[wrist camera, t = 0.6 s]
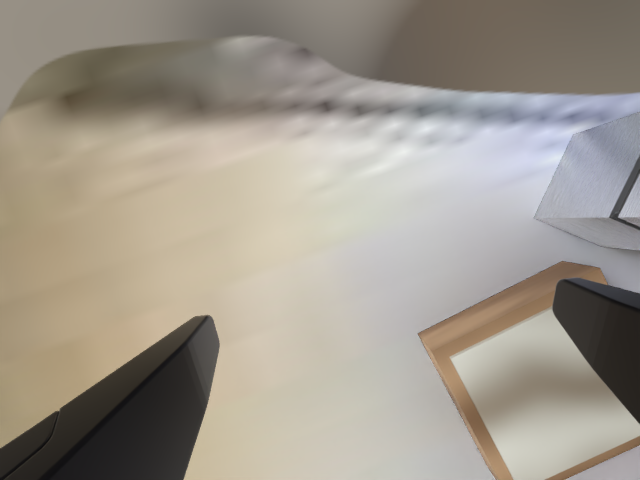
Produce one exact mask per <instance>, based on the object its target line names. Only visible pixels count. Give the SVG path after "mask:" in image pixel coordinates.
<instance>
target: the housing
mask: <svg viewBox="0 0 640 480" xmlns="http://www.w3.org/2000/svg"><path fill="white" fill-rule="evenodd" d="M534 218H535V219H537V220H540V221H542V222H544V223H547V224H549V225H551V226H554V227H556V228H559V229H561V230H563V231H566V232H568V233H570V234H573V235H575V236H577V237H580V238H582V239H585V240H587V241H589V242H592V243H594V244H596V245H599V246H601V247H610V248H620V249H630V250H640V112H638V113H635V114H632V115H629V116H626V117H623V118H620V119H618V120H615V121H612V122H609V123H606V124H603V125H600V126H597V127H594V128H592V129H589V130H586V131H583V132H580V133H577V134H574V135H573V136H572V138H571V140H570V142H569V144H568V146H567V149H566V151H565V153H564V155H563V157H562V159H561V161H560V163H559V165H558V167H557V170H556V172H555V174H554V176H553V178H552V180H551V182H550V184H549V186H548V189H547V191H546V193H545V195H544V197H543V199H542V201H541V203H540V205H539V208H538V210H537V212H536V214H535V216H534Z"/></svg>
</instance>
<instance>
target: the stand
mask: <svg viewBox="0 0 640 480" xmlns="http://www.w3.org/2000/svg"><path fill="white" fill-rule="evenodd" d="M574 277H578V278H583V279H586V280H590V281H594V282H598V283H601V284H605V285H608V284H607V282H606V280H605V278H604V275H603V273H602V271H601V269H600V268H598V267H592V266H587V265H581V264H576V263H570V262H565V261H561V262H559V263H557V264H555V265H553V266H551V267H550V268H548V269H546V270H544V271H542V272H540V273H538V274H536V275H534V276H532V277H530V278H528V279H526V280H524V281H522V282H520V283H518V284H516V285H514V286H512V287H510V288H508V289H506V290H504V291H502V292H500V293H498V294H496V295H494V296H492V297H490V298H488V299H486V300H484V301H482V302H480V303H478V304H476V305H474V306H472V307H470V308H468V309H466V310H464V311H462V312H460V313H458V314H456V315H454V316H452V317H450V318H448V319H446V320H444V321H442V322H440V323H438V324H436V325H434V326H432V327H430V328H428V329H426V330H424V331H422V332H420V333H418V335H419V337H420V339H421V341H422V343H423V345H424V347H425V349H426V350H427V352H428V354H429V356H430V358H431V360H432V362H433V364H434V366H435V368H436V369H437V371H438V373H439V375H440V377H441V379H442V381H443V383H444V385H445V387H446V388H447V390H448V392H449V394H450V396H451V398H452V400H453V402H454V404H455V406H456V407H457V409H458V411H459V413H460V415H461V417H462V419H463V421H464V423H465V425H466V426H467V428H468V430H469V432H470V434H471V436H472V438H473V440H474V442H475V444H476V445H477V447H478V449H479V451H480V453H481V455H482V457H483V459H484V461H485V463H486V464H487V466H488V468H489V469H490V471H491V473H492V474H493V476H494V477H495V479H496V480H565V479H567V478H569V477H571V476H573V475H576V474H578V473H580V472H582V471H584V470H586V469H589V468H591V467H593V466H595V465H597V464H599V463H602V462H604V461H606V460H608V459H610V458H613V457H615V456H617V455H619V454H621V453H623V452H626V451H628V450H630V449H632V448H634V447H637V446H639V445H640V424H639V423H638V422H637V421H636V420H635V418H634V417H633V416H632V415H631V414H630V413H629V411H628V410H627V409H626V408H625V407H624V406H623V404H622V403H621V402H620V401H619V400H618V399H617V397H616V396H615V395H614V394H613V393H612V392H611V390H610V389H609V388H608V387H607V386H606V385H605V383H604V382H603V381H602V380H601V379H600V377H599V376H598V375H597V374H596V373H595V371H594V370H593V369H592V368H591V366H590V365H589V364H588V362H587V361H586V360H585V358H584V357H583V355H582V354H581V353H580V351H579V350H578V348H577V347H576V346H575V344H574V343H573V341H572V340H571V338H570V337H569V336H568V334H567V333H566V331H565V330H564V329H563V327H562V326H561V324H560V323H559V322H558V320H557V319H556V317H555V316H554V313H553V310H552V304H553V299H554V294H555V289H556V284H557V282H558V281H559V280H560V279H564V278H574Z"/></svg>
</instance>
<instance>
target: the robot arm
mask: <svg viewBox="0 0 640 480" xmlns="http://www.w3.org/2000/svg"><path fill="white" fill-rule="evenodd" d="M552 310H553V313H554V316H555V317H556V319H557V320H558V322H559V323H560V324H561V326H562V327H563V329H564V330H565V331H566V333H567V334H568V336H569V337H570V338H571V340H572V341H573V343H574V344H575V346H576V347H577V348H578V350H579V351H580V353H581V354H582V355H583V357H584V358H585V360H586V361H587V362H588V364H589V365H590V366H591V368H592V369H593V370H594V371H595V373H596V374H597V375H598V376H599V377H600V379H601V380H602V381H603V382H604V383H605V385H606V386H607V387H608V388H609V389H610V390H611V392H612V393H613V394H614V395H615V396H616V397H617V399H618V400H619V401H620V402H621V403H622V404H623V406H624V407H625V408H626V409H627V410H628V411H629V413H630V414H631V415H632V416H633V417H634V418H635V420H636V421H637V422H638V423H639V424H640V294H639V293H635V292H632V291H628V290H624V289H620V288H617V287H613V286H609V285H605V284H601V283H598V282H594V281H590V280H586V279H583V278H578V277H574V278H564V279H560V280H559V281H558V282H557V284H556V289H555V294H554V299H553V304H552ZM219 346H220V345H219V338H218V335H217V331H216V328H215V324H214V321H213V318H212V317H211V316H210V315H203V316H195V317H193V318H192V319H190V320H189V321H187V322H186V323H184V324H183V325H181V326H180V327H179V328H177V329H176V330H174V331H173V332H171V333H170V334H168V335H167V336H165V337H164V338H162V339H161V340H160V341H158V342H157V343H155V344H154V345H152V346H151V347H149V348H148V349H146V350H145V351H143V352H142V353H140V354H139V355H138V356H136V357H135V358H133V359H132V360H130V361H129V362H127V363H126V364H124V365H123V366H121V367H120V368H118V369H117V370H116V371H114V372H113V373H111V374H110V375H108V376H107V377H105V378H104V379H102V380H101V381H99V382H98V383H96V384H95V385H94V386H92V387H91V388H89V389H88V390H86V391H85V392H83V393H82V394H80V395H79V396H77V397H76V398H75V399H73V400H72V401H70V402H69V403H67V404H66V405H64V406H63V407H61V408H60V410H59V411H55V412H54V413H52V414H51V415H49V416H48V417H47V418H45V419H44V420H42V421H41V422H39V423H38V424H36V425H35V426H33V427H32V428H30V429H29V430H27V431H26V432H24V433H23V434H21V435H20V436H18V437H17V438H15V439H14V440H12V441H11V442H9V443H8V444H6V445H5V446H3V447H2V448H0V480H183V479H184V476H185V473H186V470H187V467H188V464H189V461H190V458H191V455H192V451H193V448H194V445H195V442H196V439H197V436H198V433H199V430H200V427H201V424H202V420H203V417H204V414H205V411H206V408H207V404H208V400H209V396H210V391H211V386H212V382H213V377H214V372H215V367H216V362H217V357H218V353H219Z"/></svg>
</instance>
